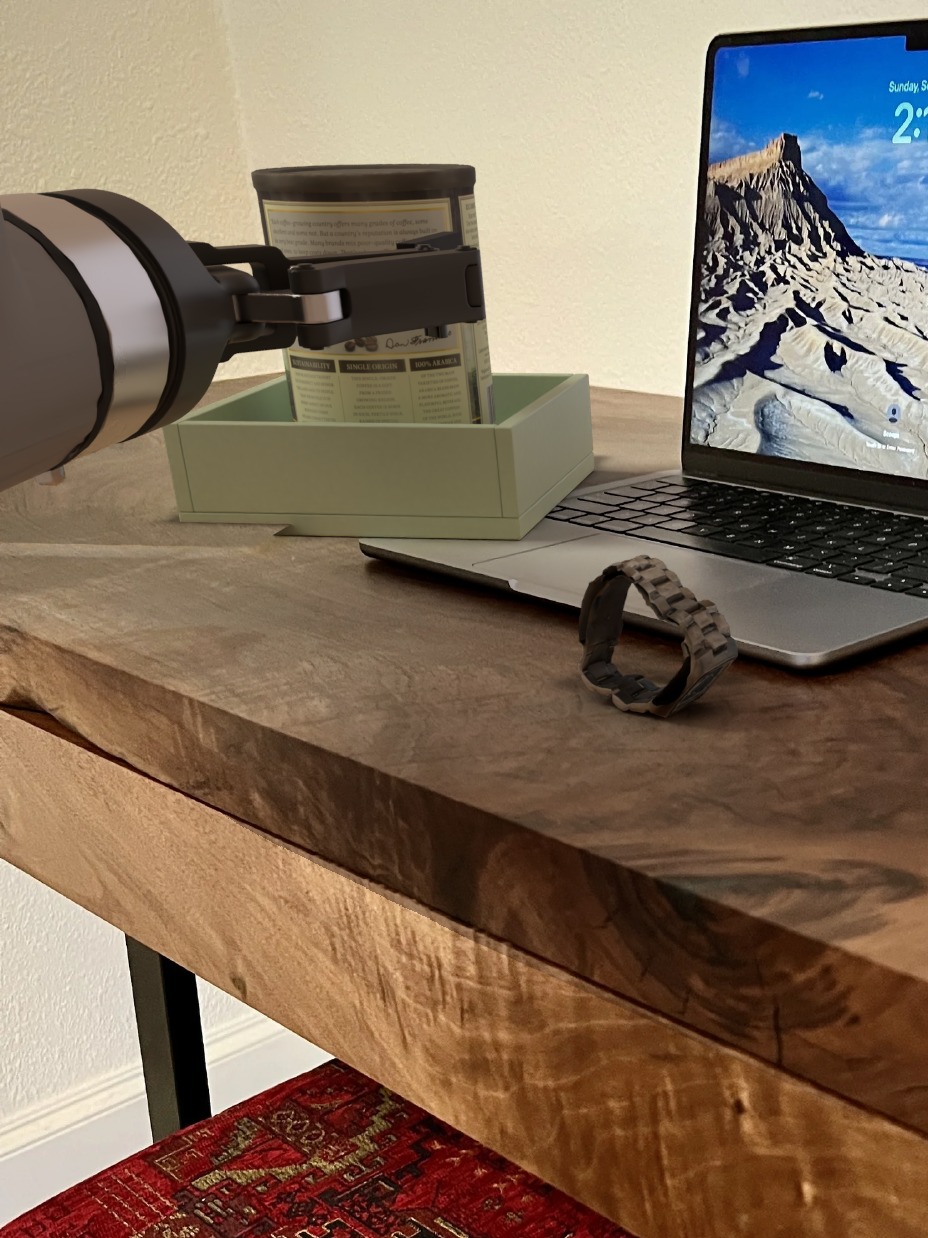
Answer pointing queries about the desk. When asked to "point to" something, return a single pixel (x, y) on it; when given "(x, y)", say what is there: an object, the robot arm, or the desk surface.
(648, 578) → the wristwatch
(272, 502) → the drawer tray
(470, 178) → the coffee can
